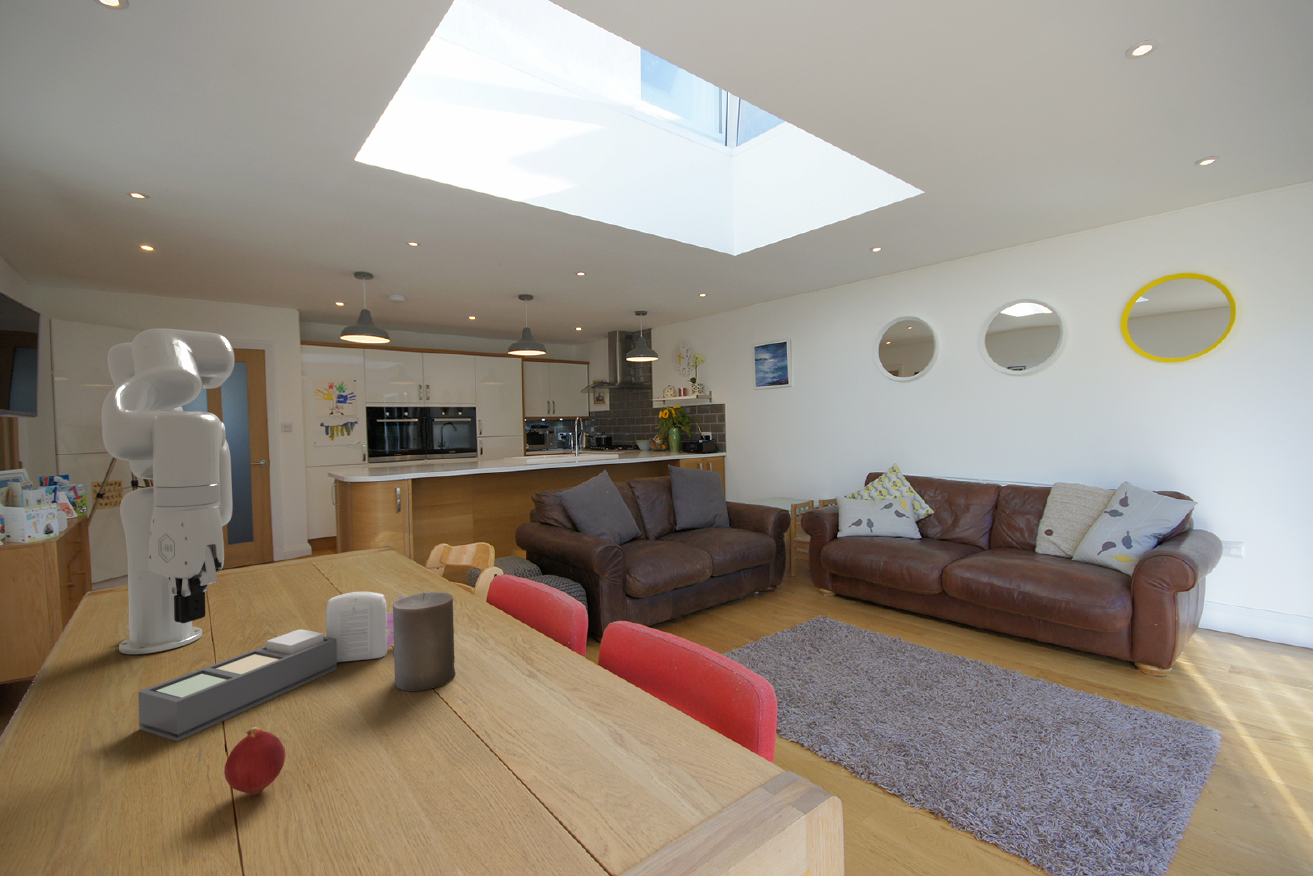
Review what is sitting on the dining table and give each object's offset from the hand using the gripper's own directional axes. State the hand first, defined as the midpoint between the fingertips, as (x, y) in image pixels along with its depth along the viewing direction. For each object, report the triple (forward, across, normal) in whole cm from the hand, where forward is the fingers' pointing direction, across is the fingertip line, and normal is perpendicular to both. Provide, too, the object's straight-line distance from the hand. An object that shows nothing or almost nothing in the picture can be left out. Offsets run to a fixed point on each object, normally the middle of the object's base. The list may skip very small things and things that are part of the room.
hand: (190, 619), depth 84 cm
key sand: (+14, +1, +8) cm, 16 cm away
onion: (+14, +27, -8) cm, 32 cm away
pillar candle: (+15, +23, +23) cm, 35 cm away
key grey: (+12, +1, +16) cm, 20 cm away
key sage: (+14, +1, 0) cm, 14 cm away
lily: (+15, +8, +34) cm, 38 cm away
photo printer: (+15, +5, +25) cm, 30 cm away
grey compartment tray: (+15, +1, +8) cm, 17 cm away
